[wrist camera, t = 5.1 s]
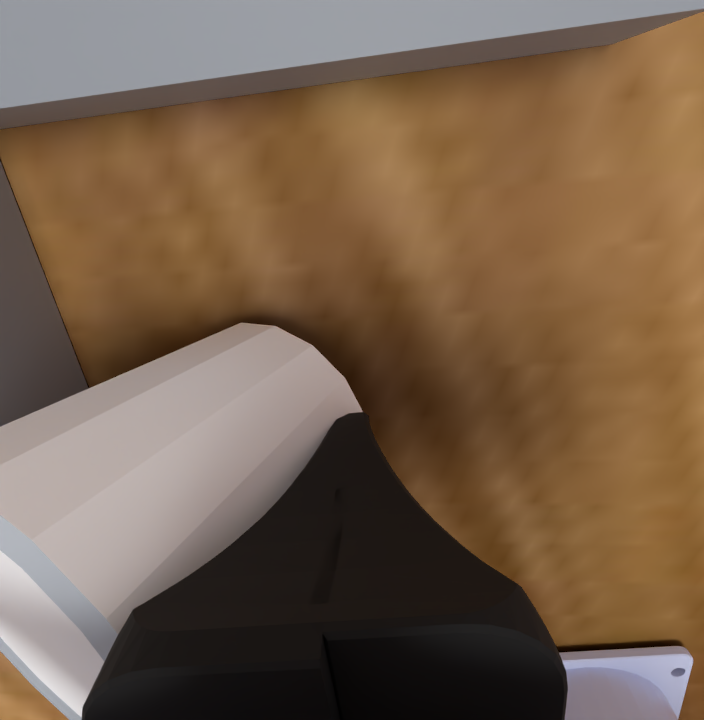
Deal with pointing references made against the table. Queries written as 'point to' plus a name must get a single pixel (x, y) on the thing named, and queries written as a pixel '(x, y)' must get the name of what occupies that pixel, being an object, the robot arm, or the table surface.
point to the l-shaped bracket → (231, 94)
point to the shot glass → (147, 489)
